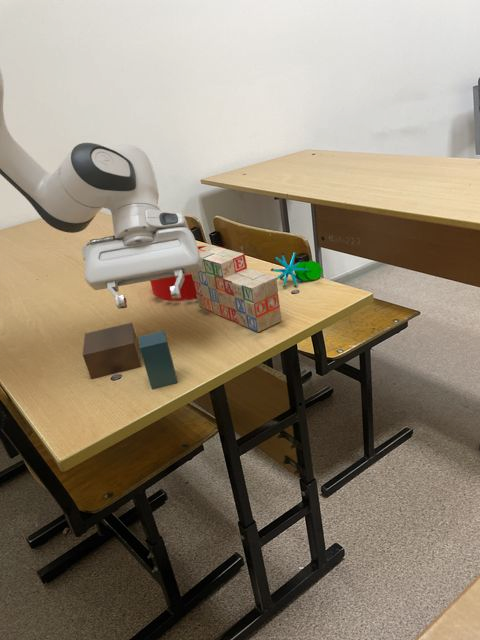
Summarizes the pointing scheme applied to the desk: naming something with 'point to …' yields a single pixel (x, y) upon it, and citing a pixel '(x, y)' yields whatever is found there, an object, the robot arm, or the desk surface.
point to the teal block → (157, 359)
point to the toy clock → (163, 285)
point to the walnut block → (111, 350)
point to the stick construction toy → (298, 270)
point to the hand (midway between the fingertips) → (149, 302)
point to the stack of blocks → (236, 289)
